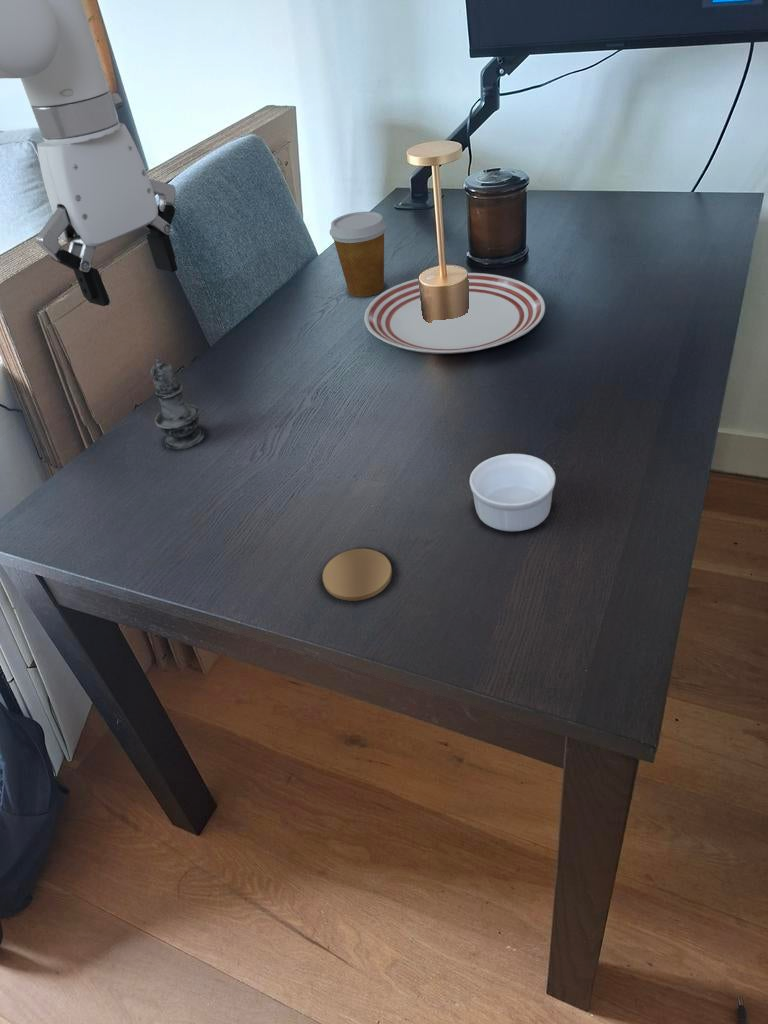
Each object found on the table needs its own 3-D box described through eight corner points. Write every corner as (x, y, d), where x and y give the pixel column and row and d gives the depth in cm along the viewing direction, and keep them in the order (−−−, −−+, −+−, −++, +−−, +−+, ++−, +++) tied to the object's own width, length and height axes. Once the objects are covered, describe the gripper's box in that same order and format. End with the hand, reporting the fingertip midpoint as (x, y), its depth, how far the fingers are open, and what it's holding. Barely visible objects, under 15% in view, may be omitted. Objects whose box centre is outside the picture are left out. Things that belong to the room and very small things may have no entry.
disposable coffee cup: (376, 274, 138) (367, 206, 130) (403, 289, 131) (395, 219, 124) (330, 289, 135) (318, 221, 127) (355, 306, 128) (344, 235, 120)
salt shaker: (215, 431, 102) (190, 350, 94) (185, 455, 98) (156, 372, 91) (184, 422, 105) (157, 343, 97) (153, 445, 101) (123, 364, 94)
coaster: (335, 610, 73) (334, 605, 73) (315, 565, 79) (314, 561, 78) (402, 586, 75) (401, 582, 74) (378, 544, 80) (377, 540, 80)
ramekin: (522, 548, 77) (522, 515, 74) (454, 516, 82) (452, 484, 79) (571, 503, 82) (572, 470, 79) (503, 475, 87) (503, 444, 84)
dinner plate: (556, 290, 123) (557, 270, 121) (528, 374, 104) (528, 352, 101) (396, 288, 132) (394, 270, 130) (342, 365, 112) (338, 345, 110)
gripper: (124, 96, 81) (171, 254, 92) (-22, 141, 71) (50, 311, 82) (169, 98, 77) (213, 262, 88) (21, 145, 67) (90, 324, 78)
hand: (134, 286), depth 85 cm, fingers open, 9 cm apart
